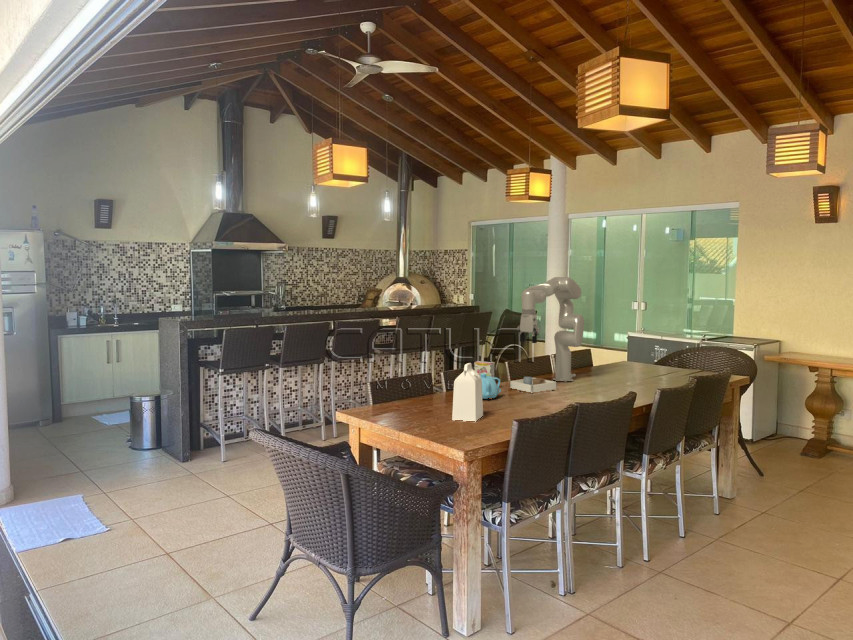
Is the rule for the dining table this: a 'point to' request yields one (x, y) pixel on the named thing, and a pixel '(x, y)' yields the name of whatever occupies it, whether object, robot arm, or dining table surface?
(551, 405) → the dining table surface
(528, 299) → the robot arm
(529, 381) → the slate capsule
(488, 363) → the candy bar box
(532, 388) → the tote
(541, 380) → the walnut cube
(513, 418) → the dining table surface
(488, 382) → the decorative pot
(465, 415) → the milk
